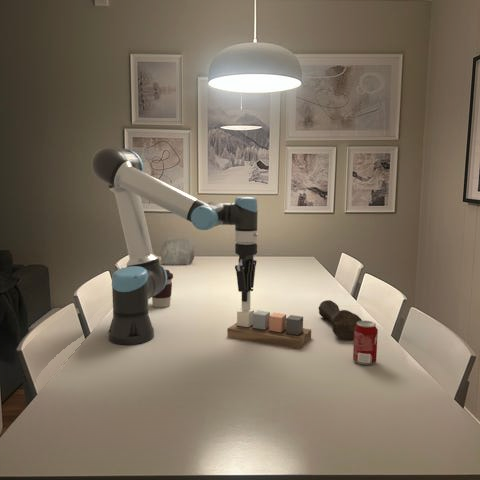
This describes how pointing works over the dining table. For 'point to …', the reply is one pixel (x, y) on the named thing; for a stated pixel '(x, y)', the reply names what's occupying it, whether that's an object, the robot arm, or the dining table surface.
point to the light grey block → (261, 319)
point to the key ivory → (245, 318)
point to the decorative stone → (177, 251)
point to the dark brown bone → (339, 319)
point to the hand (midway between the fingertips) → (245, 309)
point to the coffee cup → (164, 293)
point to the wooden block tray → (269, 336)
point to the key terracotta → (277, 322)
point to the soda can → (365, 343)
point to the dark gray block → (294, 324)
